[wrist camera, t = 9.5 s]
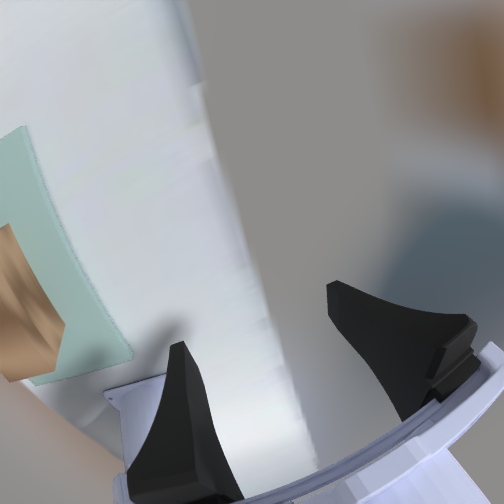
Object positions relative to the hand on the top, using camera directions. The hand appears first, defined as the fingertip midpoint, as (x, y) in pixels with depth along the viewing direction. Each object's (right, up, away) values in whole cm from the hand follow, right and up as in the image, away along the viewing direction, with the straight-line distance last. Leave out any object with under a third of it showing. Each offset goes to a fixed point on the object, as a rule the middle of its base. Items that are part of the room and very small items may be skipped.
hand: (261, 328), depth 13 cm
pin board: (-18, +1, +3) cm, 19 cm away
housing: (-18, +1, +3) cm, 18 cm away
